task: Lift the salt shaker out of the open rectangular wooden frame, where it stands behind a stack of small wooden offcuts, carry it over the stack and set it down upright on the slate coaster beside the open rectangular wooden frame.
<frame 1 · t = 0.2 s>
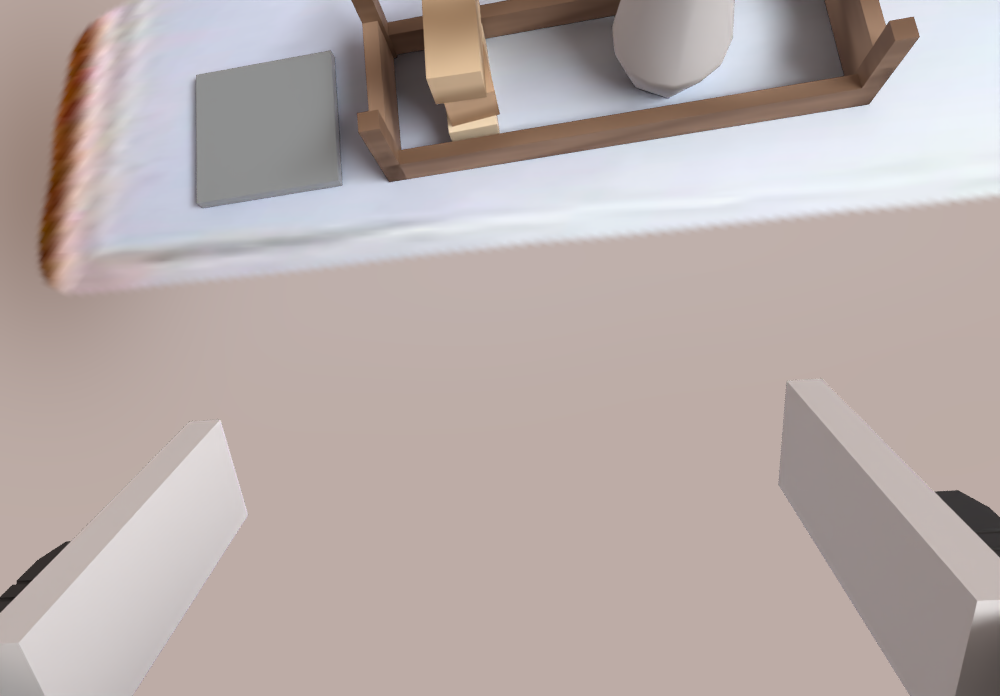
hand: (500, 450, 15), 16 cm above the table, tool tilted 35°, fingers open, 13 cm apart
offcut 3: (458, 53, 32), point 4 cm above the table
open rectangular wooden frame: (608, 73, 35), on the table
salt shaker: (665, 65, 35), resting in open rectangular wooden frame
coaster: (269, 131, 36), on the table
offcut 2: (465, 73, 34), point 2 cm above the table, touching offcut 1
offcut 1: (472, 99, 36), resting in open rectangular wooden frame, touching offcut 2
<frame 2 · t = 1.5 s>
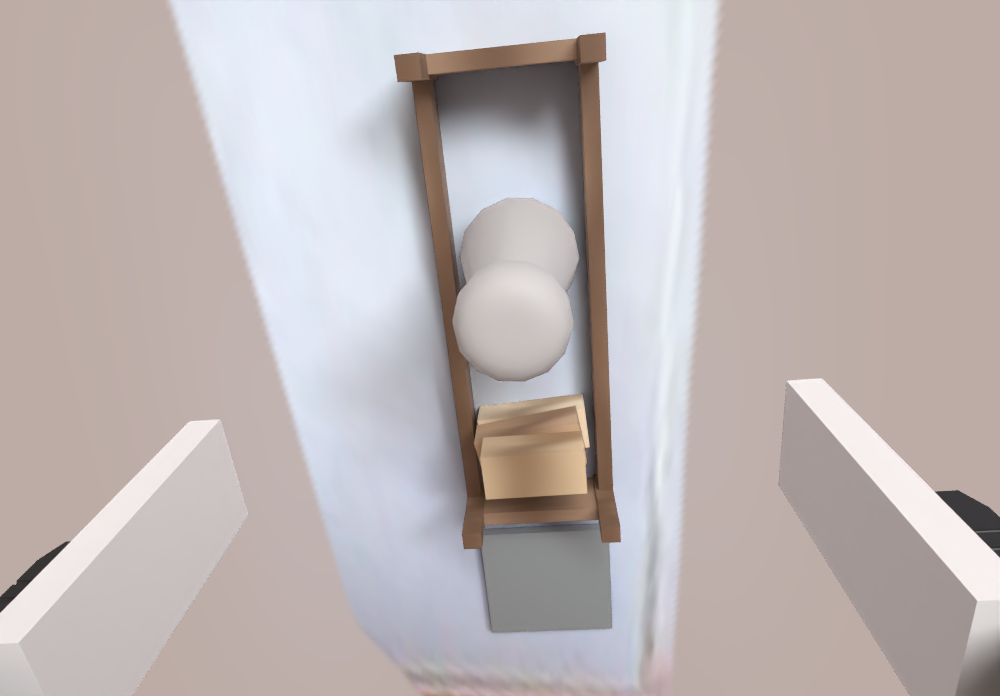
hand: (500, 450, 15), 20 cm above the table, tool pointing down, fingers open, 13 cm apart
offcut 3: (534, 454, 35), point 4 cm above the table, touching offcut 2
open rectangular wooden frame: (524, 299, 35), on the table
salt shaker: (520, 244, 34), resting in open rectangular wooden frame
coaster: (547, 576, 42), on the table
offcut 2: (530, 434, 36), point 2 cm above the table, touching offcut 1, offcut 3
offcut 1: (533, 417, 38), resting in open rectangular wooden frame, touching offcut 2
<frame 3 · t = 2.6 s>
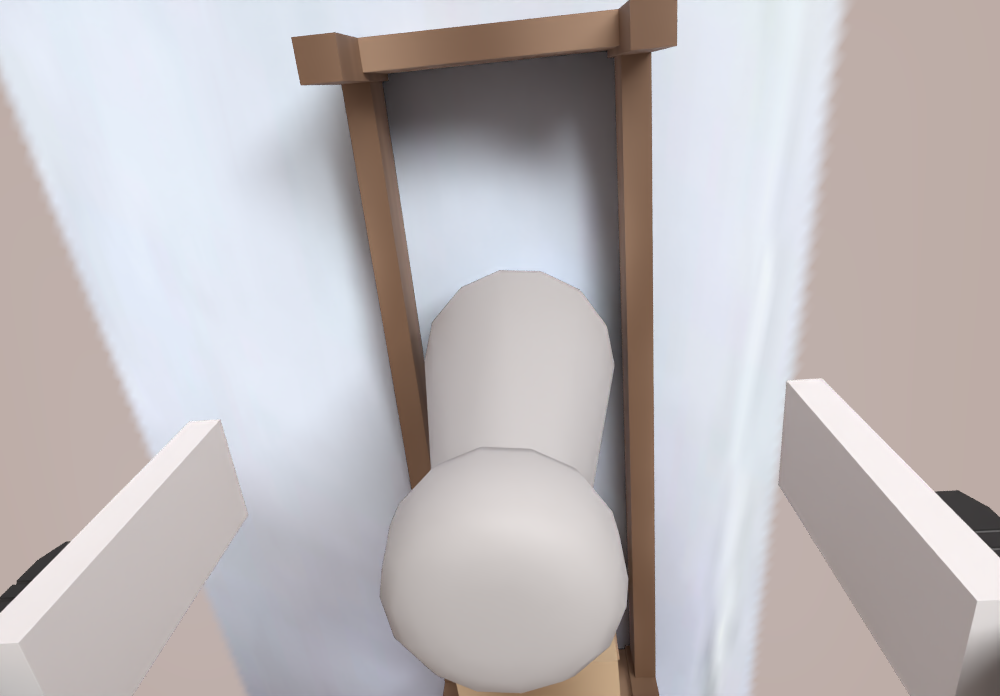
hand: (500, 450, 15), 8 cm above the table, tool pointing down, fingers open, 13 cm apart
offcut 3: (538, 644, 23), point 4 cm above the table, touching offcut 2
open rectangular wooden frame: (527, 411, 23), on the table
salt shaker: (520, 331, 23), resting in open rectangular wooden frame
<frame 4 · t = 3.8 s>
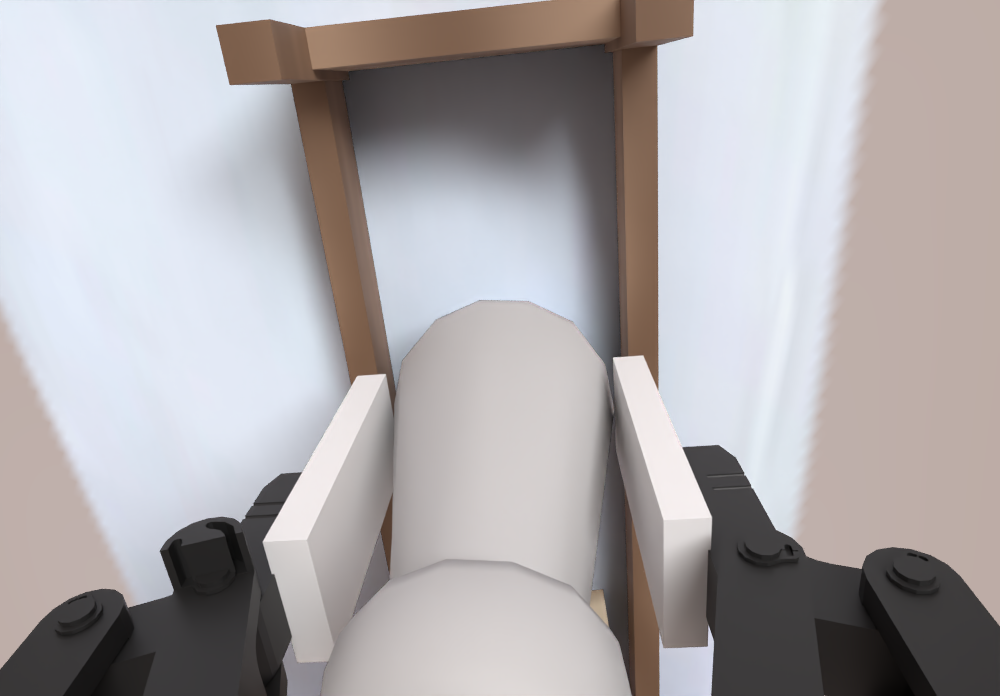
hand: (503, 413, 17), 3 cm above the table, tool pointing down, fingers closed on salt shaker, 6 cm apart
open rectangular wooden frame: (514, 454, 21), on the table
salt shaker: (505, 365, 20), resting in open rectangular wooden frame, touching gripper
offcut 1: (524, 617, 24), resting in open rectangular wooden frame, touching offcut 2
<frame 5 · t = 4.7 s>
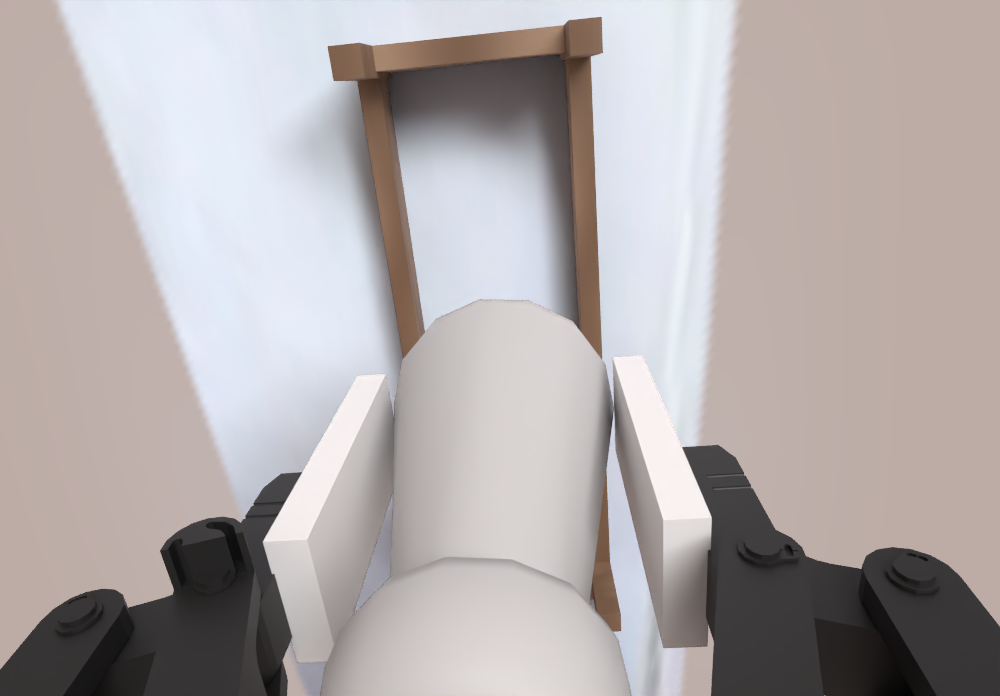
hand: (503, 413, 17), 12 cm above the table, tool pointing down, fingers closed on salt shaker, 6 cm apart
open rectangular wooden frame: (502, 342, 29), on the table
salt shaker: (505, 365, 20), point 9 cm above the table, touching gripper
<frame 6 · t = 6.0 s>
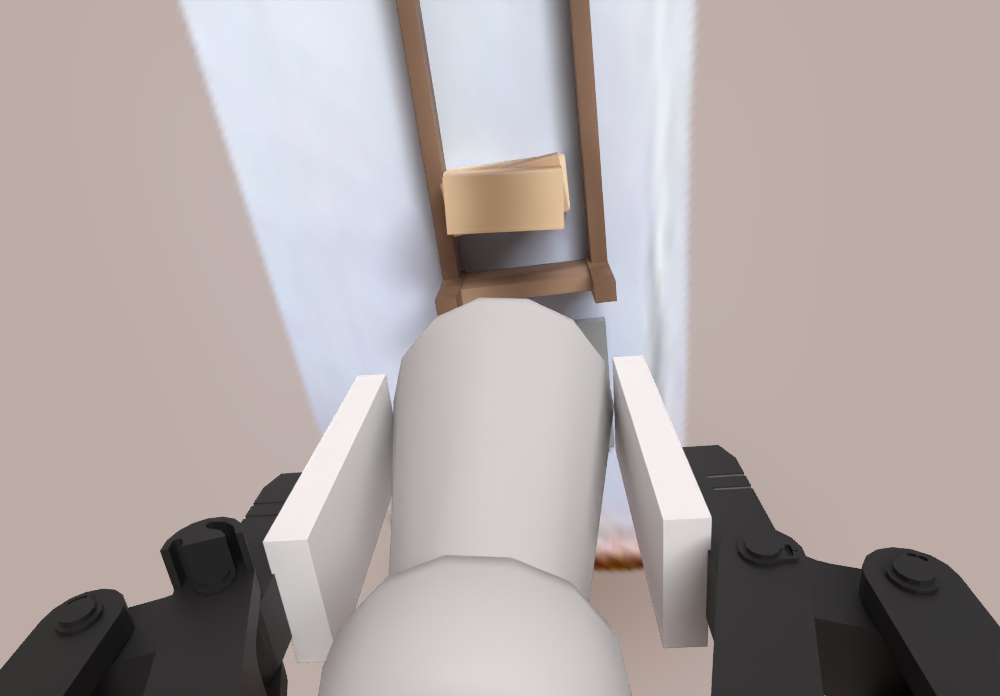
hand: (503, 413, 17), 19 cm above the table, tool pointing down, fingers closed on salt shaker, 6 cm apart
offcut 3: (505, 196, 30), point 4 cm above the table, touching offcut 2
open rectangular wooden frame: (497, 30, 31), on the table
salt shaker: (505, 363, 20), point 16 cm above the table, touching gripper
coaster: (539, 388, 38), on the table
offcut 2: (506, 191, 32), point 2 cm above the table, touching offcut 1, offcut 3
offcut 1: (508, 185, 34), resting in open rectangular wooden frame, touching offcut 2
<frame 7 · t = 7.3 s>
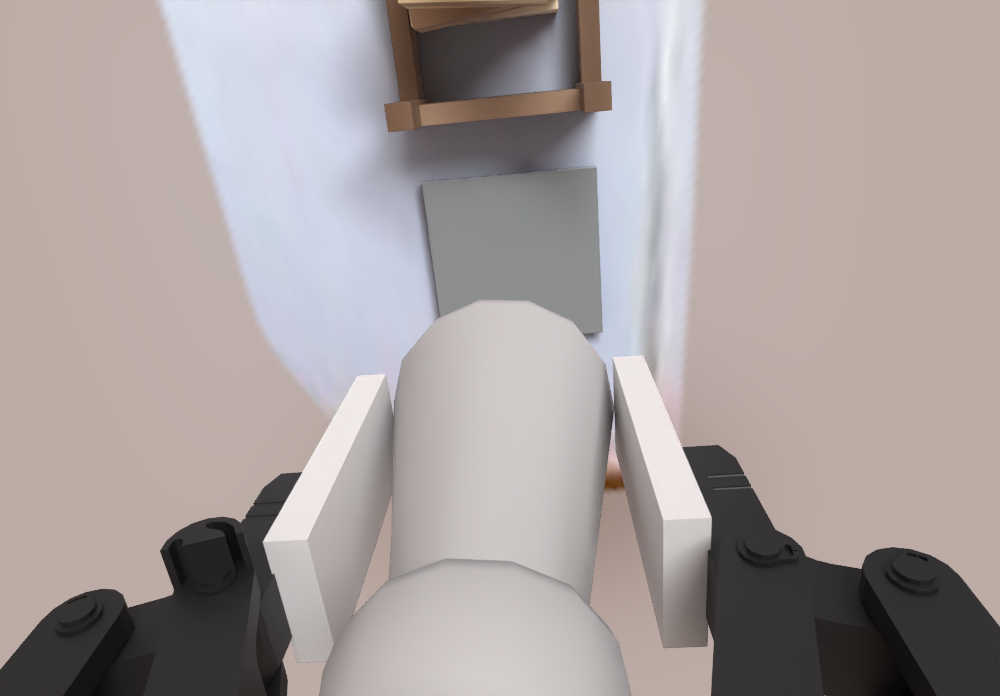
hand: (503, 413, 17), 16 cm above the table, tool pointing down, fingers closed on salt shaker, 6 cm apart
salt shaker: (505, 365, 20), point 13 cm above the table, touching gripper
coaster: (515, 257, 32), on the table
when the fingers open (5 cm above the table, at t = 9.4 s): salt shaker drops 1 cm, resting on coaster.
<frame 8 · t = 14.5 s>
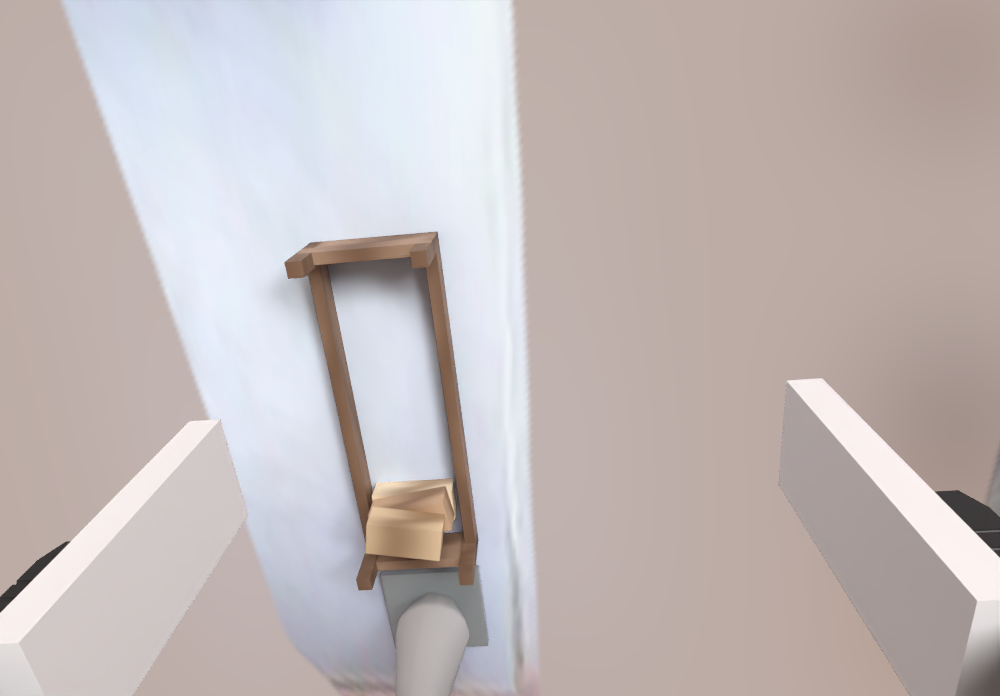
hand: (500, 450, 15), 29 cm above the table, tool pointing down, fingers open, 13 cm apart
offcut 3: (408, 524, 47), point 4 cm above the table, touching offcut 2
open rectangular wooden frame: (402, 404, 47), on the table
salt shaker: (436, 609, 54), resting on coaster
coaster: (436, 606, 54), on the table
offcut 2: (414, 506, 49), point 2 cm above the table, touching offcut 1, offcut 3
offcut 1: (417, 492, 51), resting in open rectangular wooden frame, touching offcut 2
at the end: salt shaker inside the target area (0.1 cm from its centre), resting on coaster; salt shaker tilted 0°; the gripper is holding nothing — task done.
